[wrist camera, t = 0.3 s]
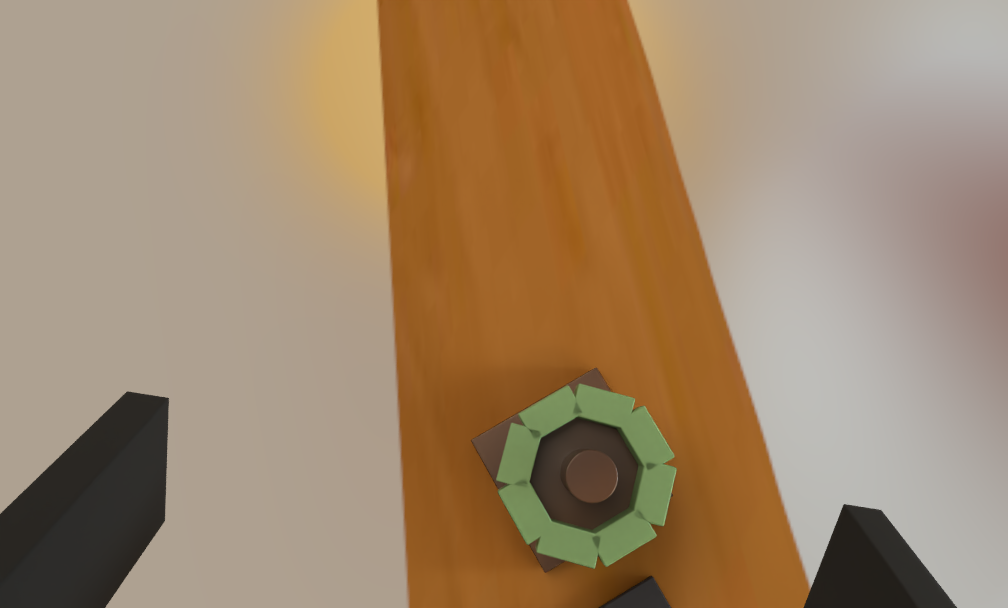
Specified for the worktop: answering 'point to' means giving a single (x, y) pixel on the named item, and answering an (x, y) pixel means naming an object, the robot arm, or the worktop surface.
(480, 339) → the worktop surface
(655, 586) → the mat
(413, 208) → the worktop surface
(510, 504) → the ring
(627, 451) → the peg stand
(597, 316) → the worktop surface
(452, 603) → the worktop surface
